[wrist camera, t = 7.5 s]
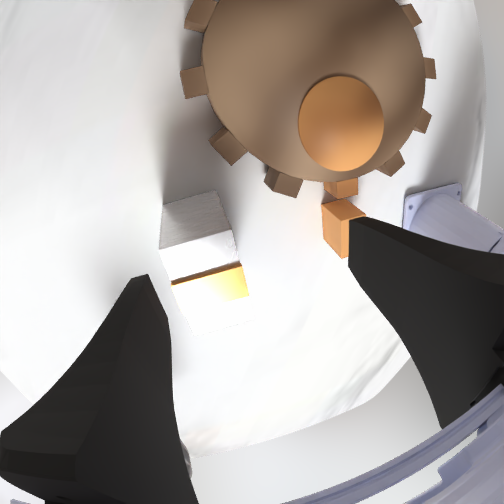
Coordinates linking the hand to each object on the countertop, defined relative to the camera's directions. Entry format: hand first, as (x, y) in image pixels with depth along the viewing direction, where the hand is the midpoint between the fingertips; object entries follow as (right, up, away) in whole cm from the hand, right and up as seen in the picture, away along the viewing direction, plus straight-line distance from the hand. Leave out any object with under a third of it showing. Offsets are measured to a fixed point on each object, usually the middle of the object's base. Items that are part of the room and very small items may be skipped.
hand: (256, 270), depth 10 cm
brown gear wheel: (+4, +13, +6) cm, 14 cm away
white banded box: (-4, +2, +10) cm, 11 cm away
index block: (+6, +3, +12) cm, 14 cm away
